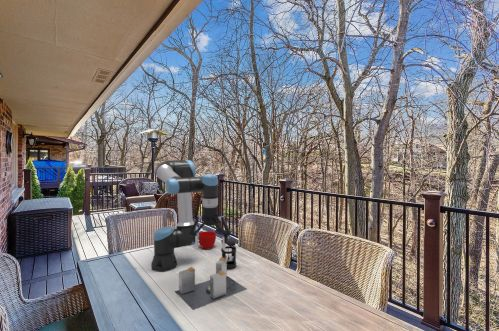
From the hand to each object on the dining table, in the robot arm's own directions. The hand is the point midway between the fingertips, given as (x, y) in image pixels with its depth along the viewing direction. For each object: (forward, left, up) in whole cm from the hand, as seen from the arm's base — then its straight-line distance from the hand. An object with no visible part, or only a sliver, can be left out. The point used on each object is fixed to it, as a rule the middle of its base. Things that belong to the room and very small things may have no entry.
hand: (210, 248), depth 138 cm
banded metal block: (+7, 0, -21) cm, 22 cm away
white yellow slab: (-6, +10, -21) cm, 24 cm away
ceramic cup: (-59, +29, -23) cm, 69 cm away
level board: (0, 0, -22) cm, 22 cm away
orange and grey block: (-6, -10, -21) cm, 24 cm away
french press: (-18, +23, -23) cm, 37 cm away
